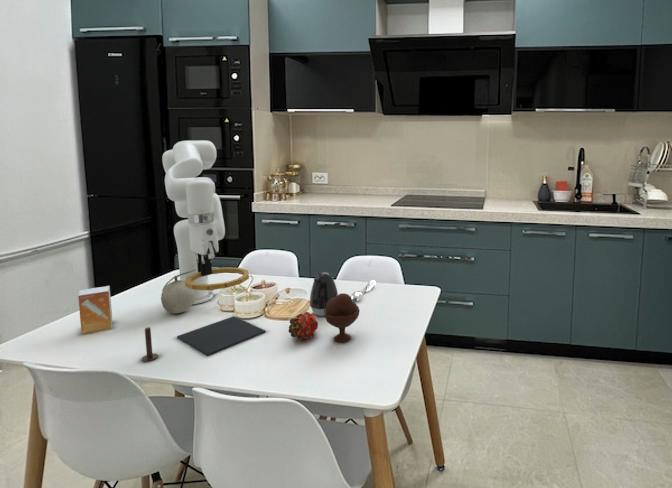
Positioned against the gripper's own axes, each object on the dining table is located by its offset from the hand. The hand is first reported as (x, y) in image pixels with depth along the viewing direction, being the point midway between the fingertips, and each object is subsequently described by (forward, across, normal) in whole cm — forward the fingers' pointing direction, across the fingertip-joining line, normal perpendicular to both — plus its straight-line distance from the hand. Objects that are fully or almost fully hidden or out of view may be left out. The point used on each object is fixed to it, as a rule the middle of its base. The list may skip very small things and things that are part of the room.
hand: (205, 273), depth 141 cm
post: (+19, -6, +20) cm, 28 cm away
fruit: (+19, +22, 0) cm, 29 cm away
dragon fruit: (+19, -30, -15) cm, 39 cm away
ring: (+1, -8, 0) cm, 8 cm away
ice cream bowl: (+19, -41, -21) cm, 50 cm away
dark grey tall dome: (+19, -21, -31) cm, 42 cm away
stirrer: (+19, -18, -54) cm, 60 cm away
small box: (+19, +30, +22) cm, 41 cm away
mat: (+19, -8, 0) cm, 20 cm away
